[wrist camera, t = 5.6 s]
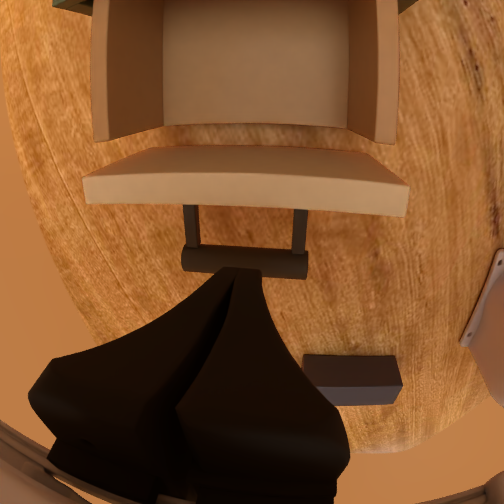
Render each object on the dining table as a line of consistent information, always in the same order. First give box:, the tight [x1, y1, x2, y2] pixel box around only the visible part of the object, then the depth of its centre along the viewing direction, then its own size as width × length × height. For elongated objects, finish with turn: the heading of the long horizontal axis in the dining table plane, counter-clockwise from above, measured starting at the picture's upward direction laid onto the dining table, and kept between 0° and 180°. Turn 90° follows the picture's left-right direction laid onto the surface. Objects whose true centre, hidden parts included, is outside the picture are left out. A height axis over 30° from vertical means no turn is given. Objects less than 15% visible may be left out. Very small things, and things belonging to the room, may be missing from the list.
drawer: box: [82, 0, 410, 280], centre depth 11 cm, size 18×12×7 cm
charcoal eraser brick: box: [301, 355, 403, 406], centre depth 22 cm, size 3×8×3 cm, turn 90°
